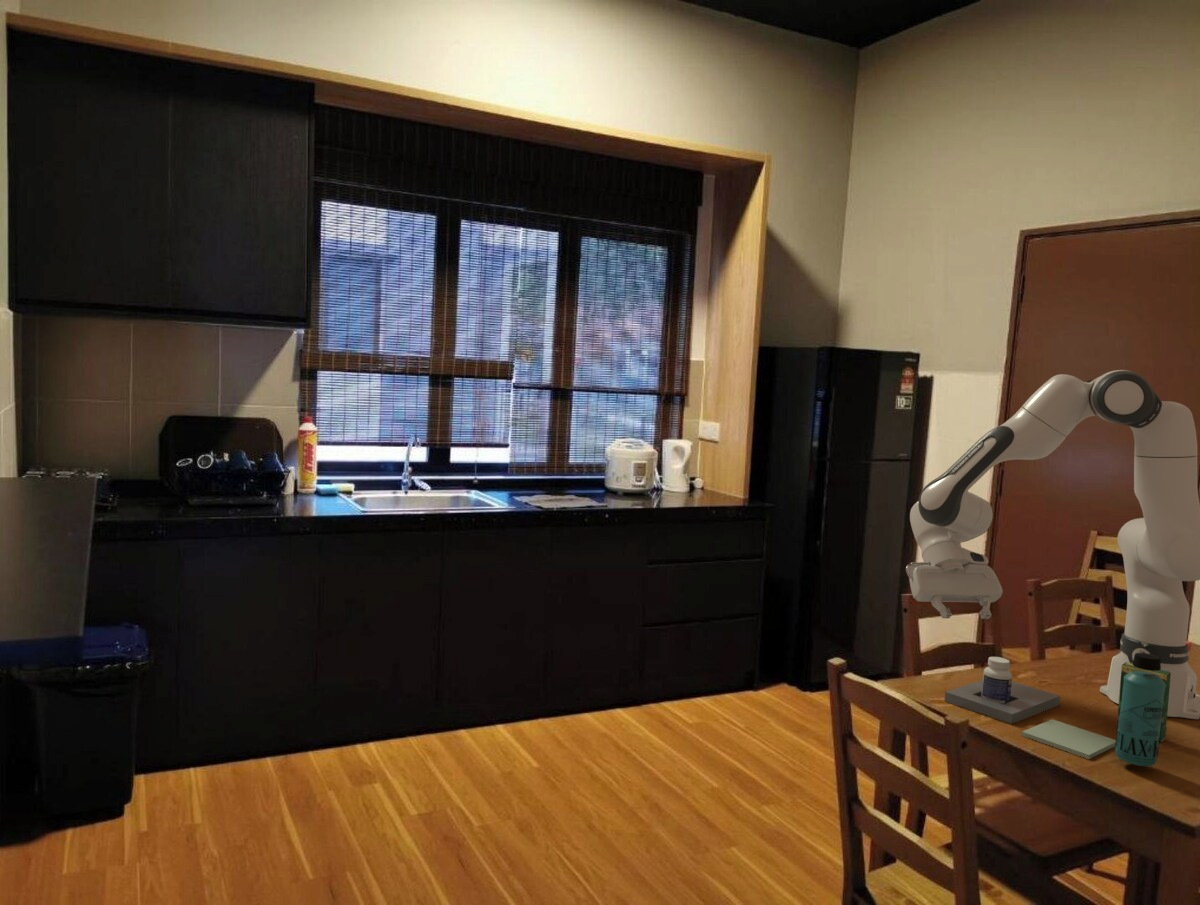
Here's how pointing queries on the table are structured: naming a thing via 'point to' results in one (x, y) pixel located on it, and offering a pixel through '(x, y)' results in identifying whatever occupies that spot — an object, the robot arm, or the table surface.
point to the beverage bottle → (1141, 713)
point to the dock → (1020, 706)
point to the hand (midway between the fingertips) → (967, 617)
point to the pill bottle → (997, 680)
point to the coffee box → (1166, 678)
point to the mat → (1070, 738)
